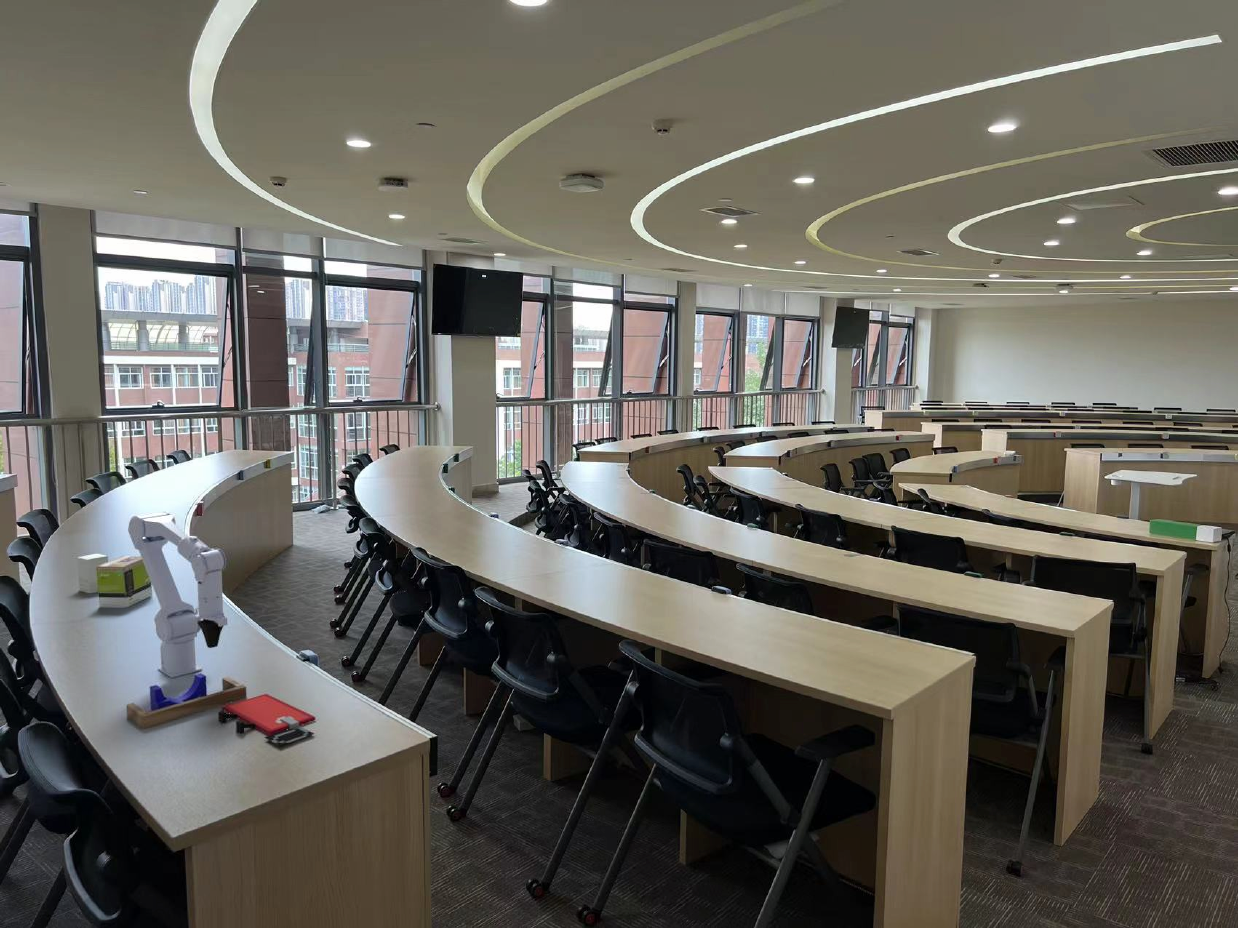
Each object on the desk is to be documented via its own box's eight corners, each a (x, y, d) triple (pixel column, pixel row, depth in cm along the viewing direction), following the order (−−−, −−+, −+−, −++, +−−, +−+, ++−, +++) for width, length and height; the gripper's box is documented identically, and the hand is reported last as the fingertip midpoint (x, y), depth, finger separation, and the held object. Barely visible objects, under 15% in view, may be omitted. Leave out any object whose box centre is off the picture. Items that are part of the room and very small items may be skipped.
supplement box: (110, 589, 305) (108, 555, 303) (89, 594, 298) (86, 559, 297) (100, 586, 308) (98, 553, 307) (78, 590, 302) (76, 556, 301)
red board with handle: (271, 752, 180) (333, 731, 192) (271, 740, 180) (333, 719, 192) (206, 716, 199) (266, 699, 211) (206, 705, 199) (266, 688, 211)
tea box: (125, 595, 297) (123, 555, 295) (153, 596, 297) (151, 555, 295) (97, 607, 282) (95, 565, 281) (126, 608, 282) (124, 565, 280)
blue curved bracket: (158, 715, 198) (157, 691, 198) (150, 710, 201) (149, 686, 200) (209, 700, 208) (208, 677, 207) (201, 695, 210) (200, 672, 210)
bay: (127, 716, 197) (126, 704, 197) (228, 687, 215) (228, 676, 215) (143, 728, 191) (142, 716, 190) (246, 697, 209) (246, 686, 209)
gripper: (182, 593, 219) (185, 643, 220) (206, 605, 209) (208, 657, 211) (210, 588, 224) (212, 637, 226) (234, 599, 214) (236, 650, 216)
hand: (212, 646), depth 219 cm, fingers closed
